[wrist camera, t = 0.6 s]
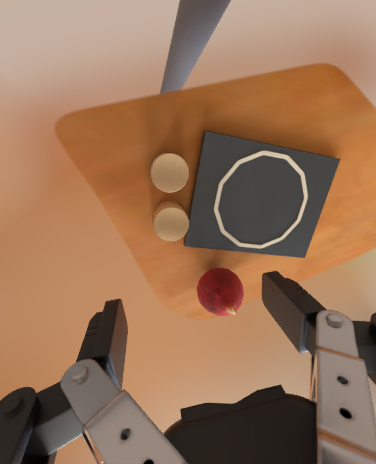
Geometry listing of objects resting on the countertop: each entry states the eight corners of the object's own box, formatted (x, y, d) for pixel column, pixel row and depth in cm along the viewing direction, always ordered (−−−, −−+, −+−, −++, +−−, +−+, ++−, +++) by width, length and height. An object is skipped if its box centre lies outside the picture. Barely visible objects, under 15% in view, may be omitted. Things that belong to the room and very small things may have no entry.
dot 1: (152, 149, 26) (152, 149, 23) (186, 156, 27) (192, 156, 24) (148, 185, 27) (148, 189, 24) (181, 190, 28) (185, 195, 25)
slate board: (203, 131, 26) (205, 130, 25) (335, 158, 30) (340, 159, 29) (183, 244, 30) (184, 246, 30) (301, 255, 34) (305, 258, 33)
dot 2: (154, 198, 28) (156, 205, 25) (187, 203, 29) (192, 209, 25) (150, 229, 29) (151, 239, 26) (181, 233, 30) (186, 243, 27)
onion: (196, 297, 34) (210, 339, 26) (189, 264, 32) (201, 298, 24) (234, 287, 34) (258, 326, 27) (229, 253, 32) (254, 285, 25)
